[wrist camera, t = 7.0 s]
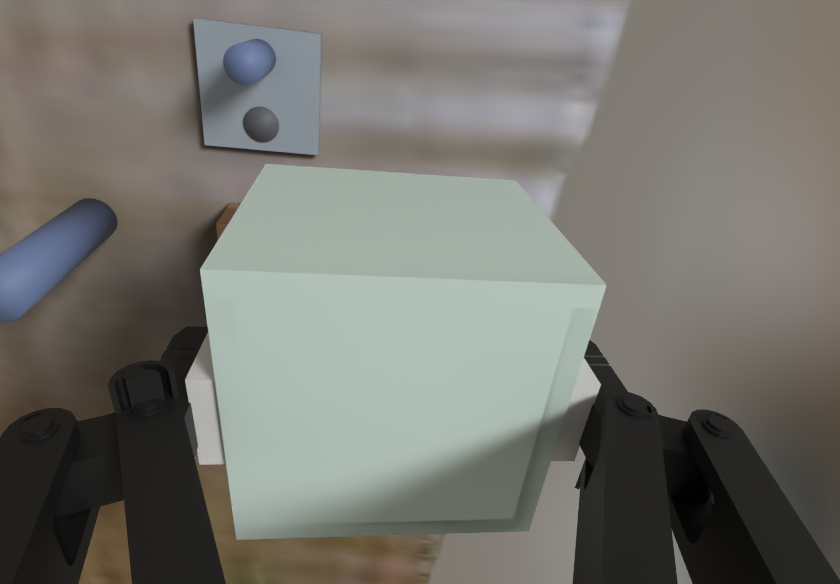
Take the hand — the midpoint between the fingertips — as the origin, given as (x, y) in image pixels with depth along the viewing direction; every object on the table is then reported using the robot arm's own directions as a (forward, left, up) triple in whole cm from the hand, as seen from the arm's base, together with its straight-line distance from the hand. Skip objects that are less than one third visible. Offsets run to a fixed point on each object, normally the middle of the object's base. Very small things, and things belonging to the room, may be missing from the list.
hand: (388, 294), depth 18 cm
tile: (-8, -2, -16) cm, 18 cm away
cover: (0, 0, -1) cm, 1 cm away
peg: (-10, -15, -16) cm, 24 cm away
